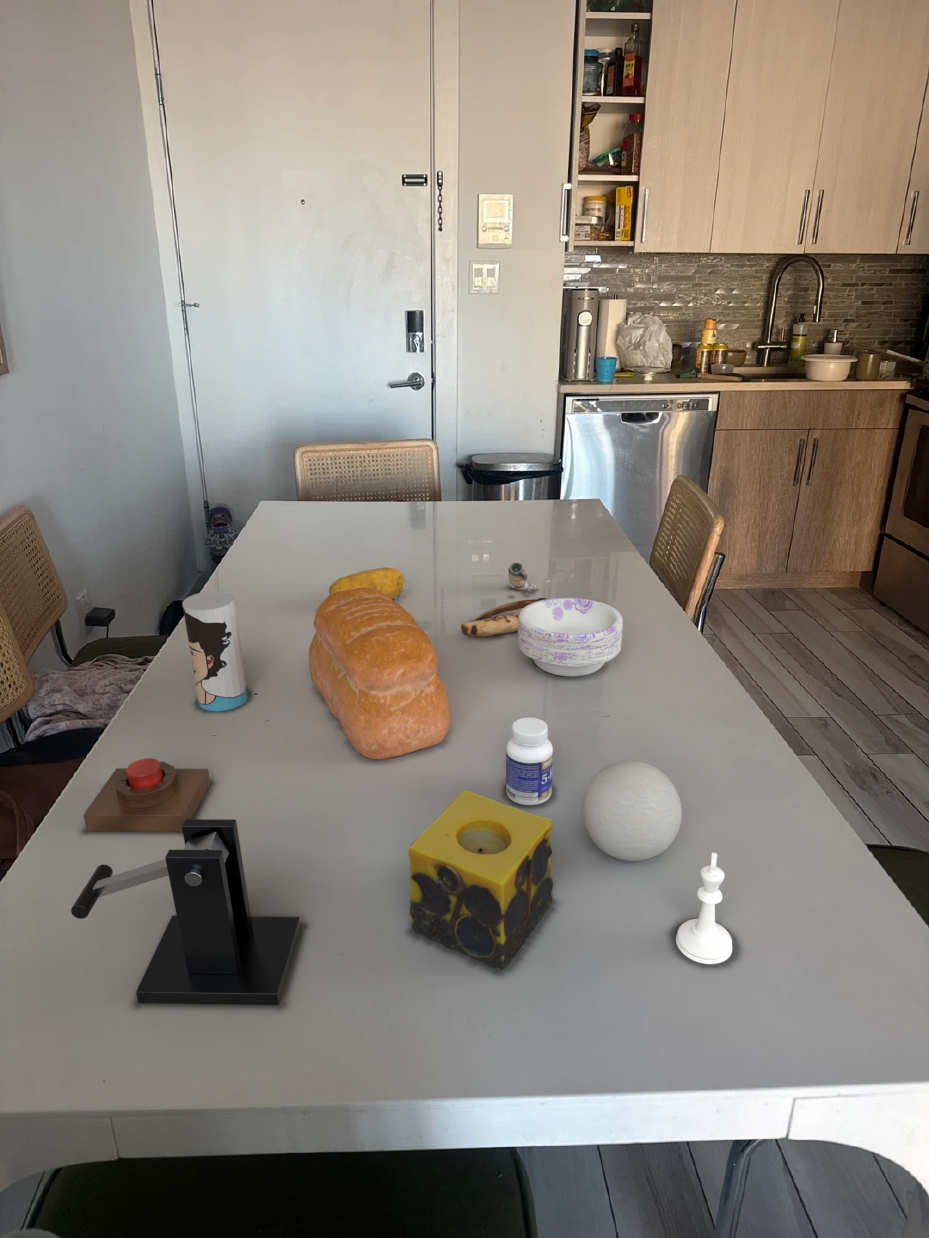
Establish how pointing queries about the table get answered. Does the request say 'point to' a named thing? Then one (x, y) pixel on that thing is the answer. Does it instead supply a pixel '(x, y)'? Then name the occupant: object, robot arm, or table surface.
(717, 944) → the chess piece
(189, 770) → the button block
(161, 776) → the button
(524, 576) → the vase
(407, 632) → the bread
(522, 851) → the candle
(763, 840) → the table surface
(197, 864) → the bracket
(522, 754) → the pill bottle
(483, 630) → the bone fish hook
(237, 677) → the cup
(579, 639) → the paper bowls
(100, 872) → the lever
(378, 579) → the potato
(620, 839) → the ball
